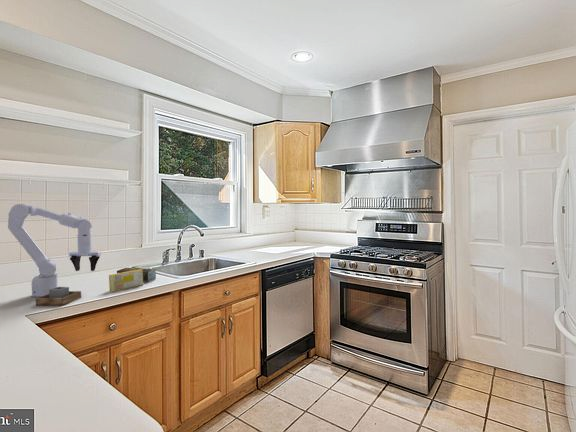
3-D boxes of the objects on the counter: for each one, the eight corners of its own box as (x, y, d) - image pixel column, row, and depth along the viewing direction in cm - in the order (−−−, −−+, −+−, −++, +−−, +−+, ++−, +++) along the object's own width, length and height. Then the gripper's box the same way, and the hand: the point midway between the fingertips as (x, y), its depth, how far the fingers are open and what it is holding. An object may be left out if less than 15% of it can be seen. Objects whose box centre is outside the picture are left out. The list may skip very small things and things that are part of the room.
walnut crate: (35, 305, 136) (35, 298, 136) (55, 297, 148) (55, 291, 148) (63, 305, 136) (63, 298, 136) (81, 297, 148) (80, 291, 147)
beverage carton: (148, 282, 176) (147, 270, 176) (116, 281, 179) (115, 269, 179) (156, 279, 184) (156, 267, 184) (125, 278, 187) (125, 267, 186)
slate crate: (49, 301, 140) (49, 289, 140) (59, 297, 145) (59, 286, 145) (59, 301, 139) (58, 290, 139) (69, 298, 144) (68, 287, 144)
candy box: (141, 284, 172) (141, 269, 171) (143, 285, 170) (143, 269, 170) (109, 291, 159) (108, 274, 159) (110, 291, 158) (110, 274, 157)
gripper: (103, 242, 165) (104, 269, 165) (75, 242, 165) (76, 269, 165) (95, 244, 158) (96, 271, 158) (65, 244, 158) (66, 272, 158)
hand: (85, 270), depth 161 cm, fingers open, 7 cm apart
